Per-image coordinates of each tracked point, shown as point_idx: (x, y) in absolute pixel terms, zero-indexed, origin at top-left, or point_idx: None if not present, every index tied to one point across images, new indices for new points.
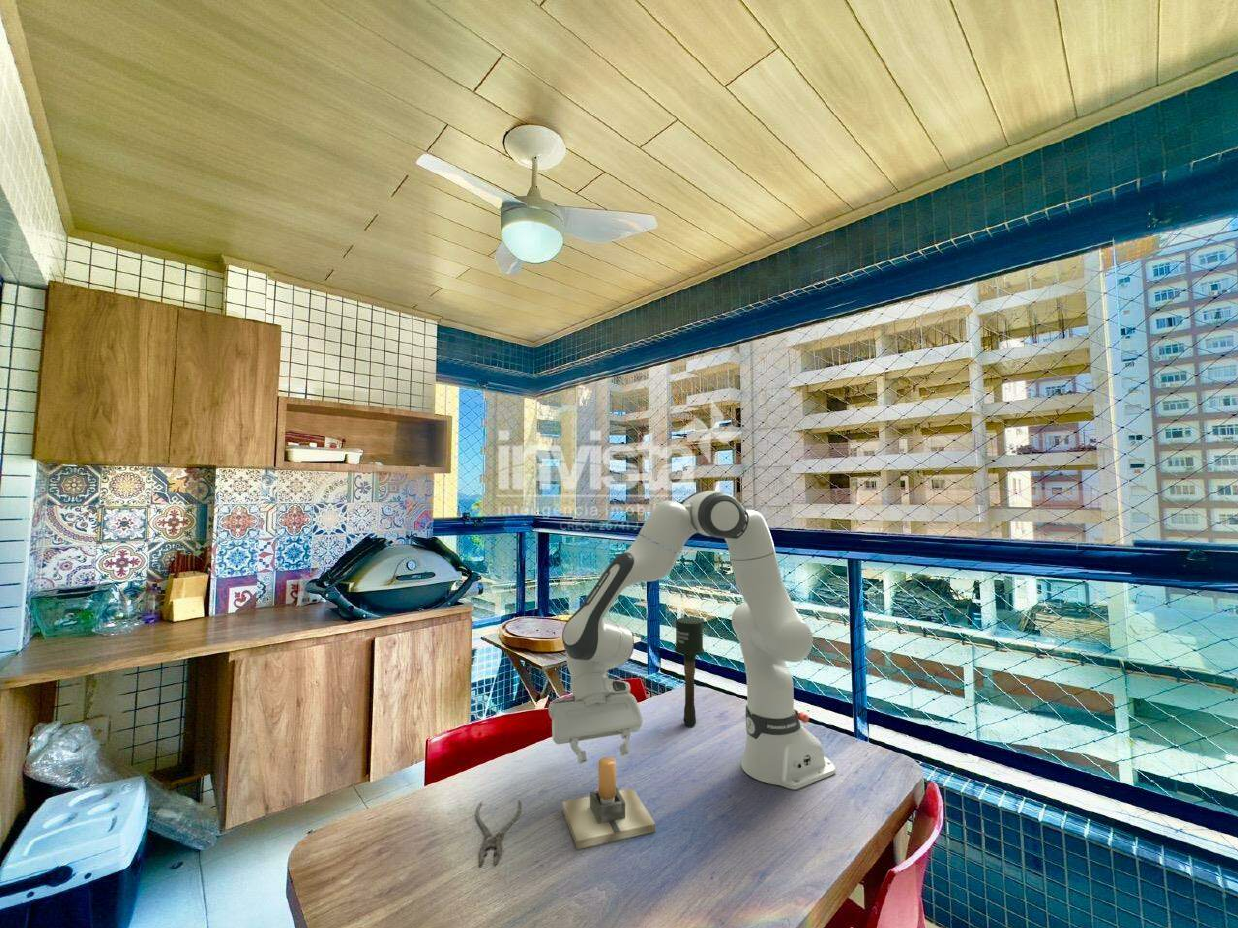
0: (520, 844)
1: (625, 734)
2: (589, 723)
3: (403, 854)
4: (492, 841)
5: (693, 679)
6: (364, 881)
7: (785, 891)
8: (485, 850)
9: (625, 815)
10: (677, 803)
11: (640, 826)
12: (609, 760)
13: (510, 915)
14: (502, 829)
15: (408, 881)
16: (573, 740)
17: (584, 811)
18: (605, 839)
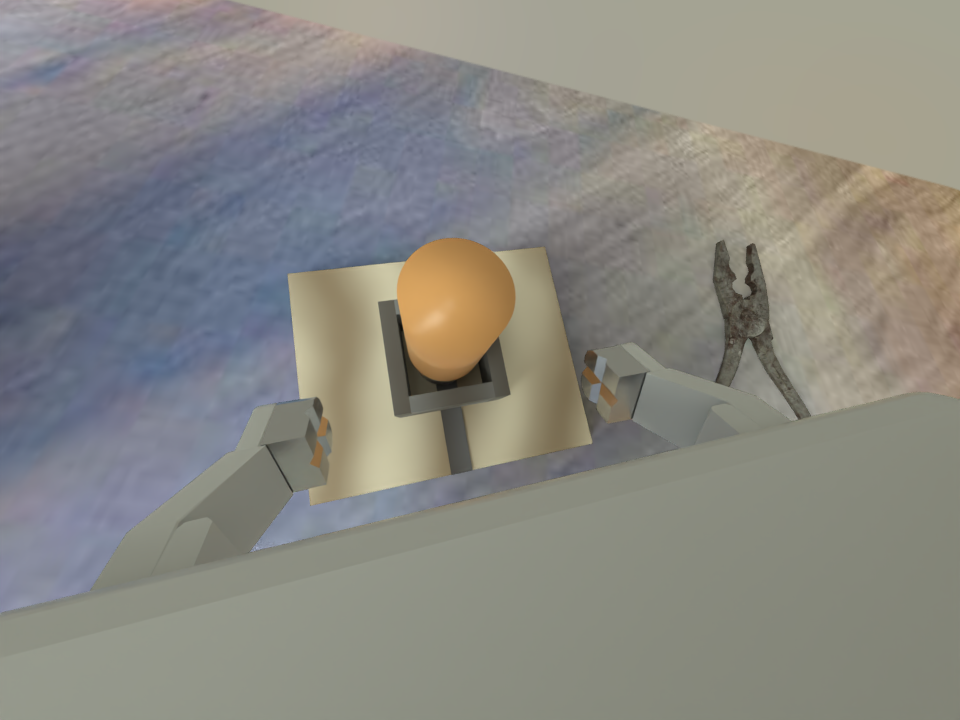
0: (678, 302)
1: (194, 522)
2: (734, 573)
3: (912, 316)
4: (748, 316)
5: None
6: (938, 254)
7: (24, 14)
8: (753, 291)
9: (381, 334)
10: (151, 421)
11: (343, 270)
12: (438, 304)
13: (662, 117)
14: (735, 360)
15: (865, 237)
16: (766, 416)
17: (518, 376)
18: None
